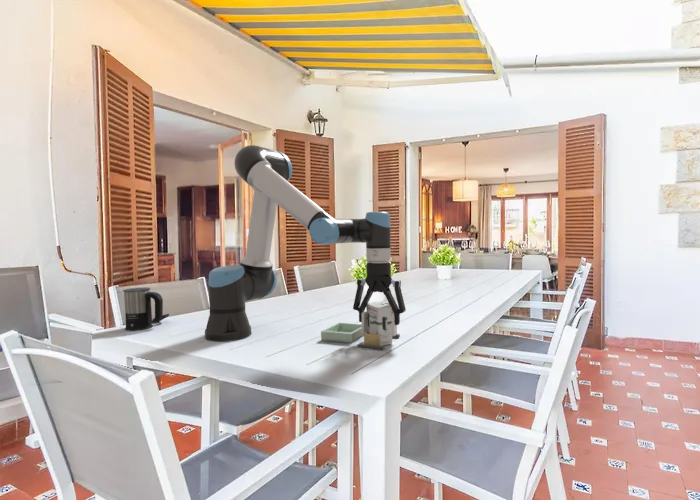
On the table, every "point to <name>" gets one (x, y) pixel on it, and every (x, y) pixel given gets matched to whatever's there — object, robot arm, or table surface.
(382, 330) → the ink box
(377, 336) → the clip rails
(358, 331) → the tray
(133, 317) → the milk frother
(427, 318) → the table surface
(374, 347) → the holder base
